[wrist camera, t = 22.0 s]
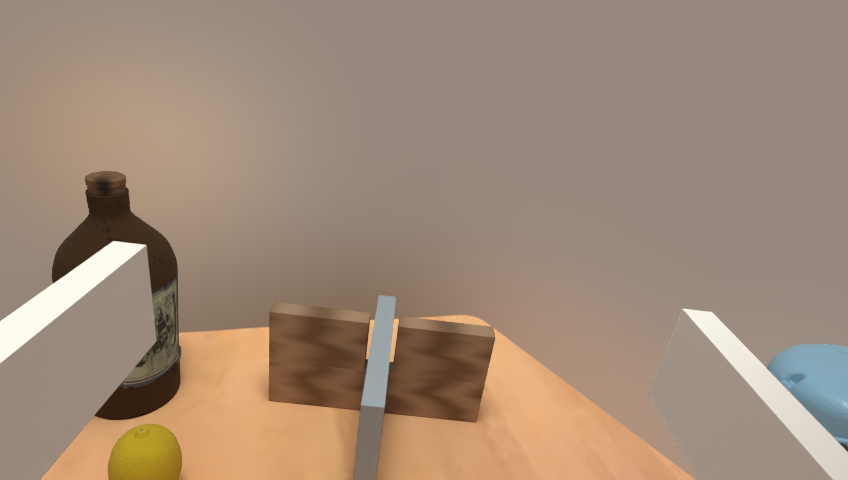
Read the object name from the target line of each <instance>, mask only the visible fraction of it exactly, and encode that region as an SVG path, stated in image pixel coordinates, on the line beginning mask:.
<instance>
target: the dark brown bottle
mask: <svg viewBox="0 0 848 480" xmlns="http://www.w3.org/2000/svg"><path fill="white" fill-rule="evenodd" d="M85 182H86V185H87V188H88V189H87V190H86V192H85V193H86V197H87V203H88V208H89V215H88V217H87V218H86V219H85V220H84V221H83V222H82V223H81V224H80V225H79V226H78V227H77V229H75V230H74V232H72V234H70V235H69V236H68V237H67V238H66V239H65V240H64V242H63V243H62V244H61V245H60V247H59V248H58V250H57V252H56V255H55V258H54V263H53V268H52V281H53V284H54V283H55V282H56V281H58V280H59V279H61V278H62V277H63V276H65V275H66V274H68V273H69V272H71V271H72V270H73V269H75V268H76V267H78V266H79V265H80V264H82V263H83V262H85V261H86V260H87V259H89V258H90V257H92V256H93V255H94V254H96V253H97V252H99V251H100V250H101V249H103V248H104V247H106V246H107V245H109V244H110V243H111V242H113V241H117V242H126V243H134V244H142V245H147V255H148V264H149V273H150V283H151V292H152V302H153V311H154V321H155V330H156V339H157V341H156V342H155V343H154V345H153V346H152V347H151V348H150V349H149V351H148V352H147V353H146V354H145V355H144V357H143V358H142V359H141V360H140V361H139V363H138V364H137V365H136V366H135V367H134V368H133V370H132V371H131V372H130V373H129V374H128V376H127V377H126V378H125V379H124V380H123V382H122V383H121V384H120V385H119V386H118V388H117V389H116V390H115V391H114V392H113V394H112V395H111V396H110V397H109V398H108V400H107V401H106V402H105V403H104V404H103V406H102V407H101V408H100V409H99V410H98V411H97V413H96V414H95V415H97V416H100V417H104V418H109V419H125V418H132V417H136V416H140V415H143V414H146V413H149V412H151V411H153V410H155V409H157V408H159V407H161V406H162V405H164V404H165V403H166V402H168V401H169V400H170V399H171V398H172V397H173V396H174V395H175V393H176V392H177V390H178V388H179V385H180V359H181V358H180V356H181V347H180V346H179V332H178V272H177V271H178V269H177V261H176V257H175V254H174V252H173V250H172V248H171V246H170V244H169V242H168V241H167V240H166V238H165V237H164V236H163V235H162V234H161V233H159V232H158V231H157V230H155V229H154V228H153V227H151V226H150V225H148V224H146V223H145V222H144V221H143V220H141V219H140V218H138V217H137V216H135V215H134V214H133V213H132V212H131V211H130V201H129V193H128V192H129V190H128V188H126V185H125V184H126V177H125V175H124V174H121V173H118V172H111V171H102V172H95V173H91V174H89V175H87V176H86V177H85ZM179 358H180V359H179Z"/></svg>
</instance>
